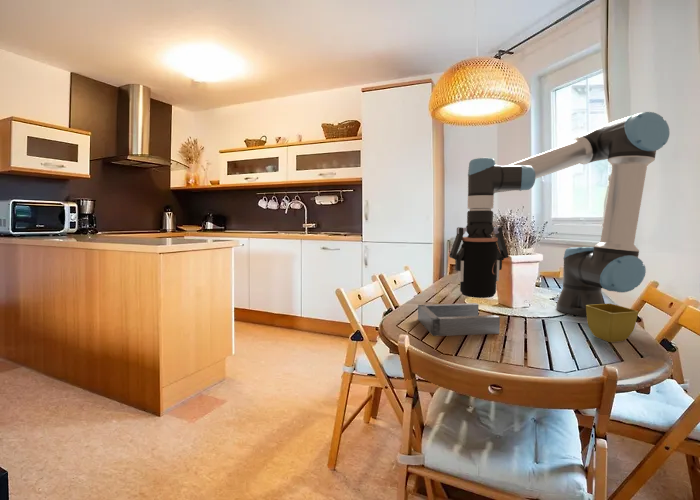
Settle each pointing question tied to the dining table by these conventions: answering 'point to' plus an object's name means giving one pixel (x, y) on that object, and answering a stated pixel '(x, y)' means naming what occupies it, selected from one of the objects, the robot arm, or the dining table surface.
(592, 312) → the flower pot
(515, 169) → the robot arm
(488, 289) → the coffee jar
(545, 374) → the dining table surface
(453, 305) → the channel
